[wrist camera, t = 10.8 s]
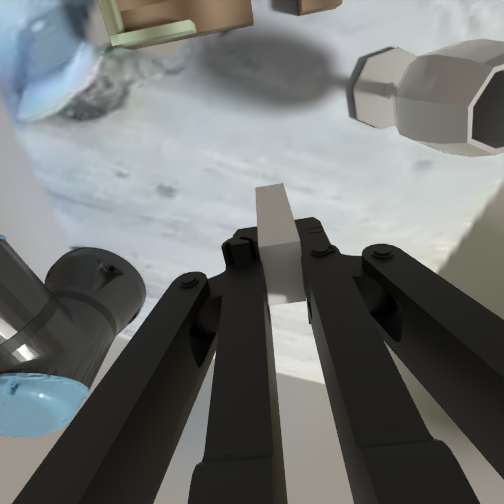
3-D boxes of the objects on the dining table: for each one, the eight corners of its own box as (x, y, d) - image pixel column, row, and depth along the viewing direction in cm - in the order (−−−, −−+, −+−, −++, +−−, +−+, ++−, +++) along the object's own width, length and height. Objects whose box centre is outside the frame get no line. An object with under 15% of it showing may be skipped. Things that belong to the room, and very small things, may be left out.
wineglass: (412, 129, 40) (547, 177, 22) (345, 127, 40) (424, 175, 22) (433, 48, 36) (623, 24, 18) (358, 46, 36) (471, 20, 18)
